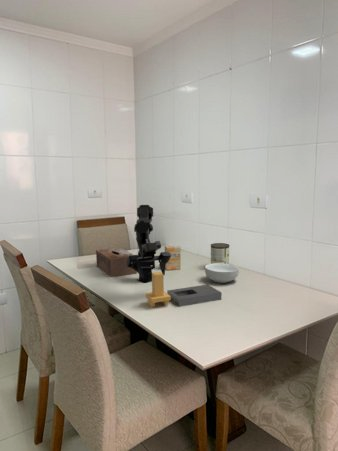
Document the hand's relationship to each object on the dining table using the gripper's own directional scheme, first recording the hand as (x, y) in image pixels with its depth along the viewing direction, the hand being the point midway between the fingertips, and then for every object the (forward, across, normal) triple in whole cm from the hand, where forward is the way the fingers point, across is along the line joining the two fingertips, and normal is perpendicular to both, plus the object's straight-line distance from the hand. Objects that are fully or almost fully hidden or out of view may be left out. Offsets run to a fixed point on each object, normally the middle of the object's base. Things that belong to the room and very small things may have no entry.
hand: (153, 276), depth 148 cm
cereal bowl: (-1, +41, +17) cm, 44 cm away
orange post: (+10, 0, +5) cm, 11 cm away
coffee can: (-14, +51, +29) cm, 60 cm away
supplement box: (-23, +28, +38) cm, 52 cm away
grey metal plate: (+10, +17, +5) cm, 20 cm away
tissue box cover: (-31, -2, +46) cm, 56 cm away
